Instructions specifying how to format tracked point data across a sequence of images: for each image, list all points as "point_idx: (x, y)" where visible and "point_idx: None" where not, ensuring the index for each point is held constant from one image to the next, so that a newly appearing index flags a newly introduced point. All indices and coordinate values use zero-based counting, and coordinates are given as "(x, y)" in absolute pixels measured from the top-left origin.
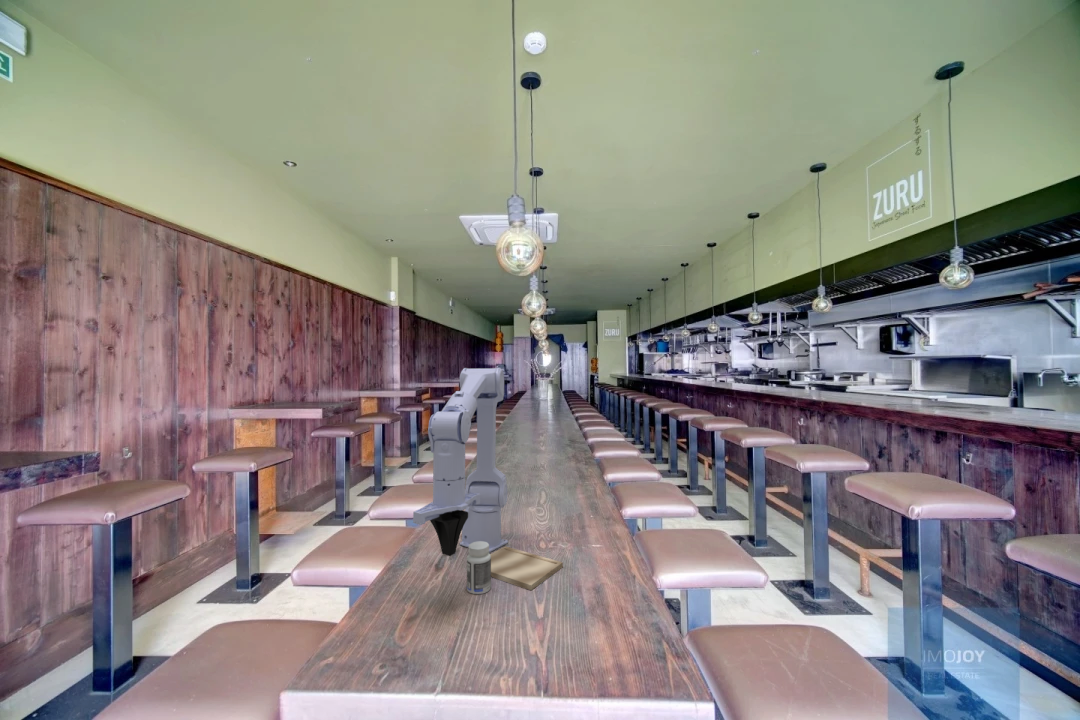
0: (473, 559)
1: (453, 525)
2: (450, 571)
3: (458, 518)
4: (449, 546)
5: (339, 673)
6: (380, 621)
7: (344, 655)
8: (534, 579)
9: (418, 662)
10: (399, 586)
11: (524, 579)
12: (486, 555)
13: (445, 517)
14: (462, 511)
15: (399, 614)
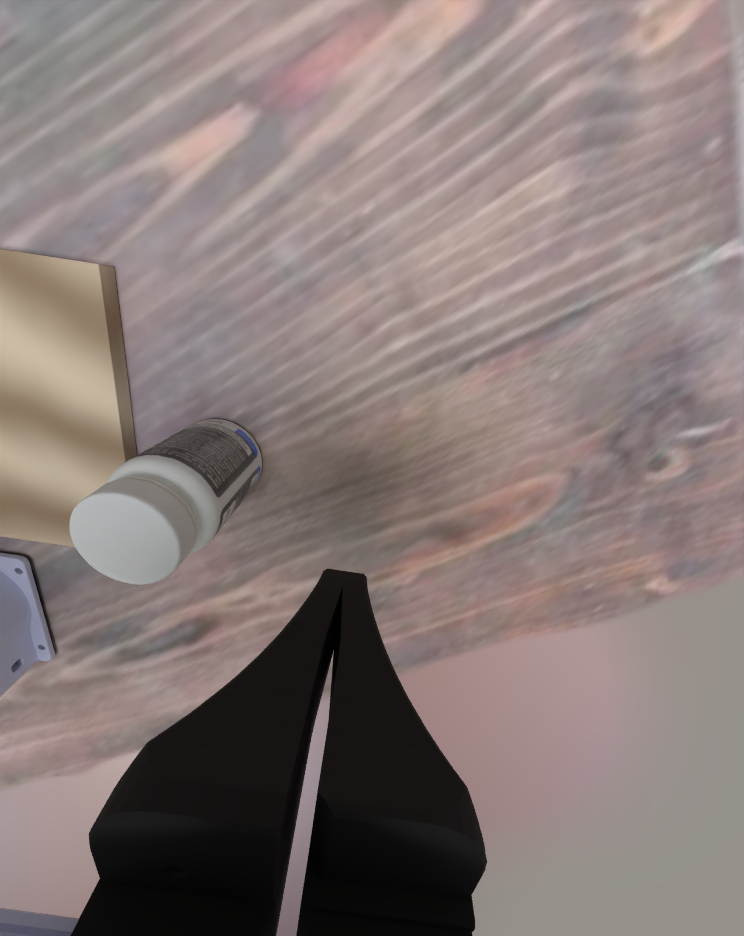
0: (204, 511)
1: (382, 748)
2: (195, 589)
3: (286, 805)
4: (371, 614)
5: (700, 533)
6: (491, 588)
7: (636, 568)
8: (51, 275)
9: (625, 388)
10: None
11: (81, 318)
12: (142, 476)
13: (416, 916)
14: (127, 875)
15: (447, 570)
